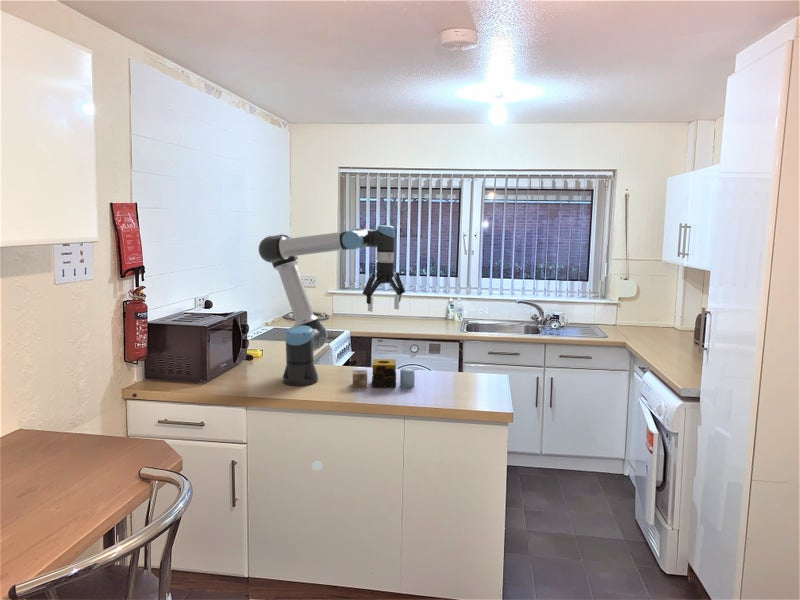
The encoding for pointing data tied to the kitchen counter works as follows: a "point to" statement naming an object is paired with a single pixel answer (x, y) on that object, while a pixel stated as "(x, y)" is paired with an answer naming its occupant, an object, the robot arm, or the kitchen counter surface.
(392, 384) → the candle
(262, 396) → the kitchen counter surface
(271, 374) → the kitchen counter surface
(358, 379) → the brown jar
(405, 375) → the blue cylinder
